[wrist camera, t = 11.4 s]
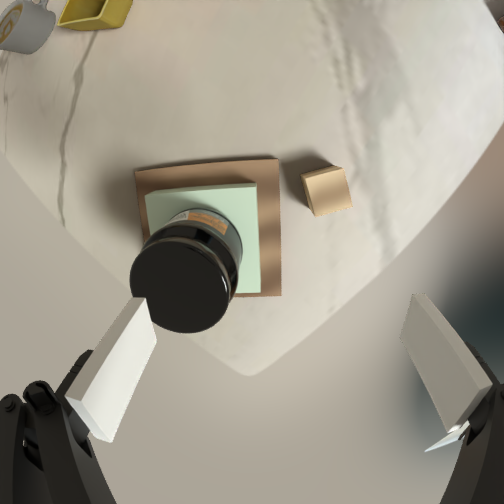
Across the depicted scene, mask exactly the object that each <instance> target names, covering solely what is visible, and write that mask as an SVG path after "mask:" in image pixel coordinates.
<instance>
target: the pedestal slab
mask: <svg viewBox="0 0 504 504" xmlns="http://www.w3.org/2000/svg"><path fill="white" fill-rule="evenodd" d="M145 202H146V209H147V216H148V223H149V229H150V235H152V234H153V233H154V232H156V231H157V230H159V229H160V228H162V227H163V226H164V225H165V224H166V223H168V221H169V220H170V219H171V218H172V217H174V216H175V215H176V214H178V213H179V212H181V211H183V210H186V209H190V208H196V207H202V208H209V209H212V210H215V211H217V212H219V213H221V214H223V215H224V216H226V217H227V218H228V219H229V220H230V221H231V222H232V223H233V224H234V225H235V227H236V228H237V230H238V232H239V234H240V237H241V240H242V244H243V256H242V261H241V264H240V269H239V281H238V286H237V290H236V293H261V272H260V249H259V227H258V206H257V185H256V183H241V184H224V185H209V186H196V187H185V188H174V189H164V190H156V191H153V192H151V193H149V194H147V195H145Z"/></svg>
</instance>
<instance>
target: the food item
mask: <svg viewBox="0 0 504 504" xmlns="http://www.w3.org/2000/svg"><path fill="white" fill-rule="evenodd" d="M497 23H498V24H499V26H500V28H501V30H502V31H503V32H504V16H502V17H501V18H500V19H499V20H498V22H497Z"/></svg>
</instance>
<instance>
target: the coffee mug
mask: <svg viewBox="0 0 504 504" xmlns="http://www.w3.org/2000/svg"><path fill="white" fill-rule="evenodd" d="M47 2H48V0H41V1H40V2H39V3H38V4H34V3H33V2H32V0H16V1H14V2H13V3H11V4H10V5H9V6H8V7H7V8H6V9H5V10H4V11H3V13H2V14H1V16H0V49H1V50H7V51H13V52H18V53H23V54H32V53H34V52H35V51H37V50H38V49H39V48H40V47H41V46H42V45H43V44H44V43H45V41H46V40H47V39H48V37H49V36H50V34H51V32H52V30H53V27H54V24H55V14H54V13H53V12H52V11H48V10H47V9H46V5H47Z"/></svg>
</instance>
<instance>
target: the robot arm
mask: <svg viewBox="0 0 504 504" xmlns="http://www.w3.org/2000/svg"><path fill="white" fill-rule="evenodd" d="M400 339H401V341H402V343H403V344H404V346H405V348H406V350H407V352H408V354H409V355H410V357H411V359H412V361H413V363H414V365H415V367H416V369H417V371H418V372H419V374H420V376H421V378H422V380H423V382H424V384H425V386H426V388H427V390H428V392H429V394H430V396H431V398H432V401H433V403H434V405H435V407H436V409H437V411H438V413H439V416H440V418H441V420H442V422H443V424H444V427H445V429H446V432H447V433H449V432H452V431H454V430H457V429H459V428H461V427H462V426H463V424H464V423H465V422H466V421H467V419H468V421H469V423H470V425H469V426H468V427H467V428H466V429H465V431H464V432H463V433H462V434H461V435H460V437H459V438H458V440H460V439H461V438H462V437H463V436H464V435H465V437H464V440H463V444H462V447H461V450H460V453H459V457H458V459H457V462H456V465H455V468H454V471H453V473H452V476H451V479H450V481H449V484H448V486H447V488H446V491H445V493H444V495H443V498H442V500H441V502H440V504H504V384H500V383H499V381H498V380H497V378H496V377H495V375H494V374H493V372H492V371H491V369H490V368H489V367H488V365H487V364H486V363H485V361H484V360H483V358H482V357H480V354H479V353H478V351H477V350H476V349H475V347H473V346H472V345H471V344H469V343H468V342H463V341H462V339H461V338H460V337H459V335H458V334H457V333H456V332H455V330H454V329H453V328H452V326H450V324H449V323H448V322H447V320H446V319H445V318H444V317H443V315H442V314H441V313H440V311H439V310H438V309H437V308H436V307H435V305H434V304H433V303H432V302H431V301H430V300H429V298H428V297H427V296H426V295H425V294H424V293H422V294H412V298H411V301H410V305H409V308H408V312H407V316H406V319H405V322H404V325H403V329H402V332H401V335H400ZM156 342H157V340H156V336H155V333H154V329H153V326H152V322H151V318H150V314H149V310H148V306H147V302H146V298H135V297H132V298H131V300H130V301H129V302H128V303H127V305H126V306H125V307H124V309H123V310H122V312H121V313H120V314H119V316H118V317H117V318H116V320H115V321H114V322H113V324H112V325H111V327H110V328H109V329H108V331H107V332H106V334H105V335H104V337H103V338H102V339H101V341H100V342H99V344H98V345H97V347H96V348H95V350H87V351H86V352H85V353H83V354H82V355H81V356H80V357H79V358H78V360H77V361H76V362H75V364H74V366H73V367H72V368H71V370H70V372H69V373H68V374H67V375H66V377H65V379H64V380H63V381H62V383H61V384H60V386H59V388H58V389H57V391H56V392H55V393H54V391H53V390H52V388H51V387H50V386H49V384H48V383H47V382H45V381H41V380H40V381H35V382H33V383H31V384H29V385H28V386H27V387H26V389H25V390H24V392H23V398H24V400H25V401H26V402H27V403H23V402H22V400H21V399H20V398H19V396H17V395H16V394H8V395H6V396H5V397H3V398H2V400H1V401H0V504H116V501H115V499H114V497H113V495H112V493H111V491H110V489H109V487H108V485H107V483H106V480H105V478H104V476H103V474H102V471H101V469H100V466H99V464H98V461H97V459H96V456H95V453H94V451H93V448H92V445H91V442H90V440H89V438H88V437H87V435H88V433H89V431H91V432H92V434H93V435H94V436H95V437H96V438H98V439H101V440H104V441H107V442H110V443H111V442H112V441H113V438H114V436H115V433H116V431H117V429H118V426H119V424H120V421H121V419H122V417H123V415H124V412H125V410H126V408H127V405H128V403H129V401H130V398H131V396H132V394H133V391H134V390H135V387H136V385H137V383H138V381H139V379H140V376H141V374H142V372H143V370H144V368H145V365H146V363H147V361H148V358H149V357H150V355H151V353H152V351H153V349H154V347H155V344H156ZM23 440H24V446H23Z"/></svg>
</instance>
